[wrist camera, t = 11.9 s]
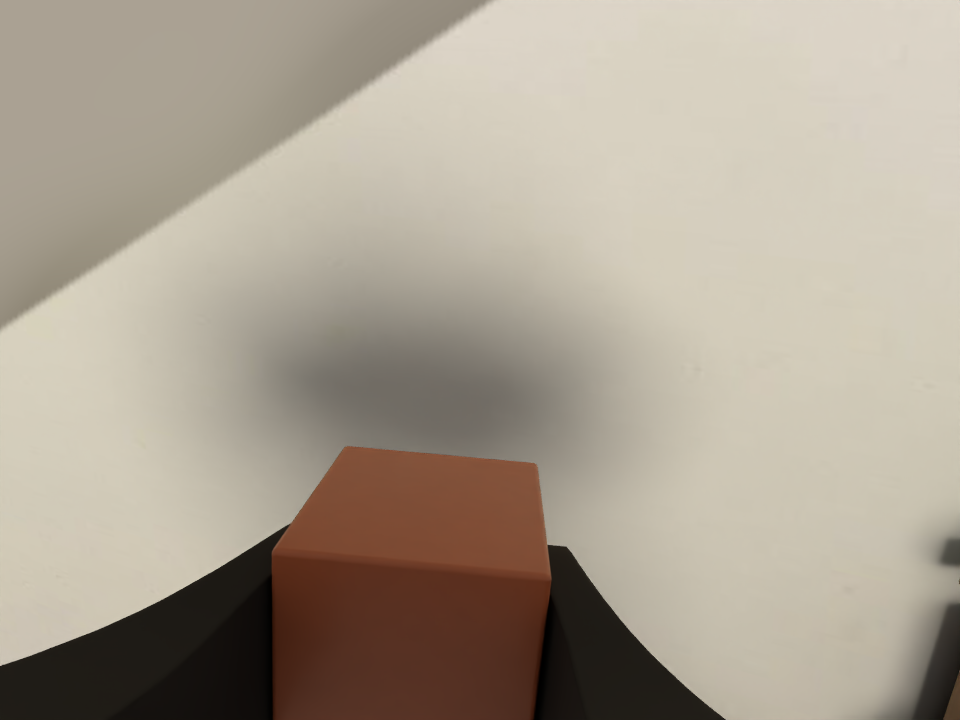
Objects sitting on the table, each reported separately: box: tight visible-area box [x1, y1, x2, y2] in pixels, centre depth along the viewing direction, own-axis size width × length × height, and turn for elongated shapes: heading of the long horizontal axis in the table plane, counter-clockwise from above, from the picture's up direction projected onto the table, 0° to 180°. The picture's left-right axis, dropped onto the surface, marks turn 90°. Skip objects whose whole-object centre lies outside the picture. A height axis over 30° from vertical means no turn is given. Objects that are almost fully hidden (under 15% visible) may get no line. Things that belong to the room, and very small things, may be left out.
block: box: [272, 446, 552, 720], centre depth 11 cm, size 4×4×4 cm
